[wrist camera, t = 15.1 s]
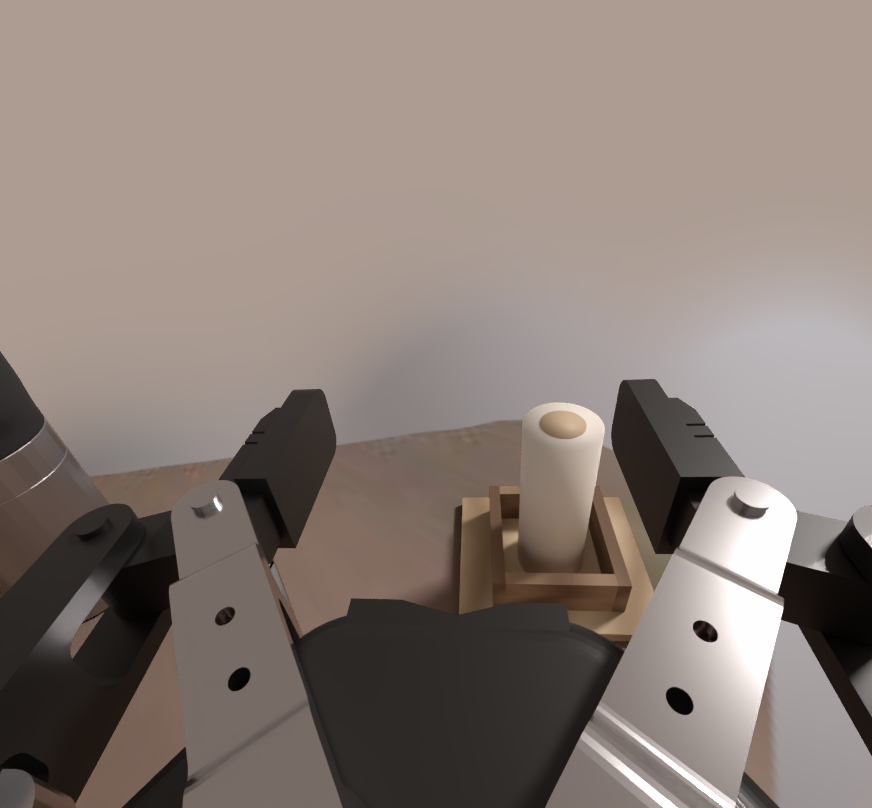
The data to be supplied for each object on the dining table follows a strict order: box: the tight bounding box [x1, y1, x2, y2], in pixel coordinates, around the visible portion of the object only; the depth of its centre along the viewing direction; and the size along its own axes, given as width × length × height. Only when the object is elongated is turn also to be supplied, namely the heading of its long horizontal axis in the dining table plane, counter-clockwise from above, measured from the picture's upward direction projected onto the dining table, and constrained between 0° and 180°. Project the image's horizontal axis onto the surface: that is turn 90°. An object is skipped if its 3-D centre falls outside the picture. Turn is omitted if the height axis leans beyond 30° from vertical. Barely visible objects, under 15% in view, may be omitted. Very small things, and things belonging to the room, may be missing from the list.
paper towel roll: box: [518, 403, 605, 573], centre depth 34 cm, size 6×6×15 cm
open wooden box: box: [459, 486, 654, 642], centre depth 38 cm, size 16×14×4 cm
